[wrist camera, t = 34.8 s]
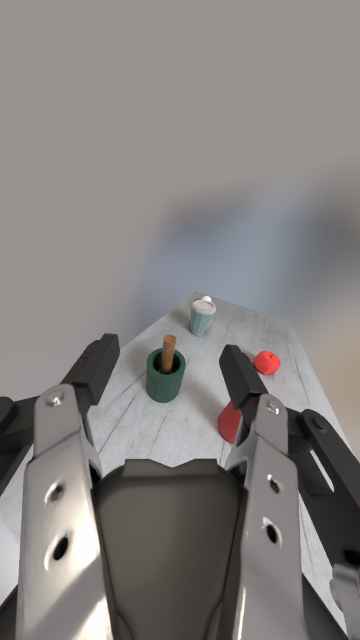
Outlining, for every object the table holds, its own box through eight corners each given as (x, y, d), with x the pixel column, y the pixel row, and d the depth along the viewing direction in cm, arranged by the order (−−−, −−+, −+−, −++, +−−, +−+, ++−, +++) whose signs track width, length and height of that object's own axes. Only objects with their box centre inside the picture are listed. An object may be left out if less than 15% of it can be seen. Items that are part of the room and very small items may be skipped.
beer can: (222, 446, 31) (243, 426, 24) (213, 413, 36) (229, 390, 30) (248, 444, 32) (275, 424, 25) (236, 412, 37) (256, 389, 31)
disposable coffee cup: (184, 335, 61) (190, 306, 53) (187, 322, 70) (193, 295, 62) (207, 340, 60) (217, 312, 52) (207, 326, 69) (216, 300, 61)
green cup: (141, 398, 37) (140, 374, 31) (152, 368, 45) (153, 344, 39) (176, 406, 36) (183, 383, 30) (181, 374, 44) (187, 351, 38)
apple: (250, 371, 50) (260, 356, 45) (251, 357, 56) (260, 343, 52) (274, 382, 47) (287, 368, 43) (272, 366, 54) (284, 352, 49)
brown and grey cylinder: (154, 389, 38) (157, 343, 28) (158, 375, 42) (162, 330, 32) (169, 392, 38) (178, 347, 28) (172, 378, 42) (181, 334, 32)
